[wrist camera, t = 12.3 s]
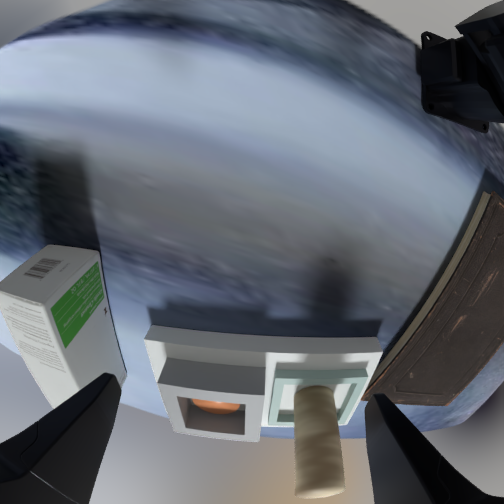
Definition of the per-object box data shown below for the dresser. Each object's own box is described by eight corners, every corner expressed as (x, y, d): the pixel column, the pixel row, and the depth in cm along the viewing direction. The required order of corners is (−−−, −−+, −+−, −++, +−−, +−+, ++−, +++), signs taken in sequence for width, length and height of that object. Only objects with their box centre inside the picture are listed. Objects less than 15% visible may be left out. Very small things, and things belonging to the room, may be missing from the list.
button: (241, 381, 23) (240, 390, 22) (240, 408, 25) (239, 416, 24) (191, 376, 23) (189, 384, 22) (196, 403, 25) (194, 411, 24)
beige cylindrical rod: (337, 385, 23) (352, 483, 14) (328, 407, 24) (337, 496, 15) (296, 385, 23) (299, 487, 14) (291, 407, 24) (291, 499, 15)
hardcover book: (354, 384, 26) (358, 400, 24) (478, 184, 17) (495, 191, 15) (443, 394, 28) (449, 406, 25) (543, 249, 18) (555, 257, 16)
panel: (376, 336, 23) (392, 377, 18) (344, 411, 28) (350, 446, 23) (151, 324, 23) (131, 364, 19) (171, 401, 28) (161, 436, 24)
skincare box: (100, 247, 20) (131, 373, 27) (44, 241, 20) (84, 360, 27) (39, 308, 13) (106, 433, 20) (-15, 290, 13) (54, 412, 20)
